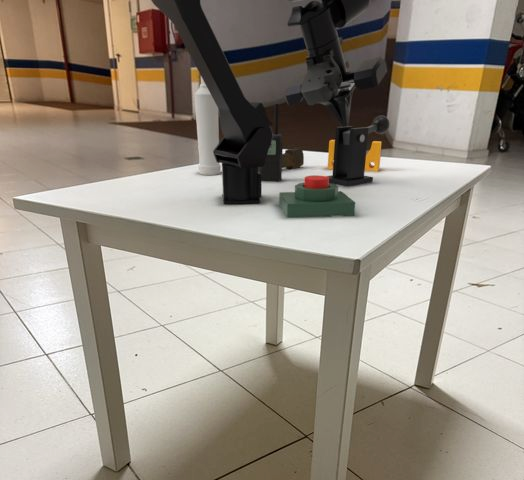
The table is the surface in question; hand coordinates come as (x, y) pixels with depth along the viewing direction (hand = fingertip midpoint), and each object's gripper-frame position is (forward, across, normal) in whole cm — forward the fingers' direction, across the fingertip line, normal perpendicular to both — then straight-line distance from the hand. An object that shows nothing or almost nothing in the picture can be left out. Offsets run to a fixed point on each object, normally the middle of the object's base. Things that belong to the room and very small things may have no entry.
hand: (345, 125), depth 97 cm
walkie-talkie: (+6, -17, -7) cm, 19 cm away
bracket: (+12, -2, -2) cm, 12 cm away
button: (-2, +5, -24) cm, 25 cm away
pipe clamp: (+18, -9, +14) cm, 24 cm away
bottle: (+3, -34, -6) cm, 34 cm away
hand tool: (+10, -23, +4) cm, 25 cm away
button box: (+1, +4, -26) cm, 26 cm away
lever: (+7, +1, +6) cm, 9 cm away
